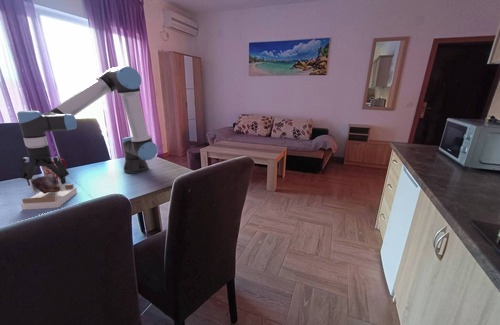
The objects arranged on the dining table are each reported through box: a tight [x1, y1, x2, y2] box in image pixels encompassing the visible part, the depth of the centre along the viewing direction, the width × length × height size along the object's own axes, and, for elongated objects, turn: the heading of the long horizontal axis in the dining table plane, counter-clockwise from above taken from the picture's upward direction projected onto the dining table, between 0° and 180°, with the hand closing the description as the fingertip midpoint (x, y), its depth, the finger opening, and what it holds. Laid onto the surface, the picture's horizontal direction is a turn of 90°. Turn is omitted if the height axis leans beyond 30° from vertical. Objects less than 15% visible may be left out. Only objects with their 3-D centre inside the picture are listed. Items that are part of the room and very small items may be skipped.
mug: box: [40, 158, 67, 183], centre depth 131 cm, size 13×9×14 cm
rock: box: [32, 175, 61, 194], centre depth 106 cm, size 12×9×10 cm
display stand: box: [20, 183, 78, 211], centre depth 107 cm, size 14×16×5 cm
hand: (49, 190), depth 107 cm, fingers closed on rock, 11 cm apart
